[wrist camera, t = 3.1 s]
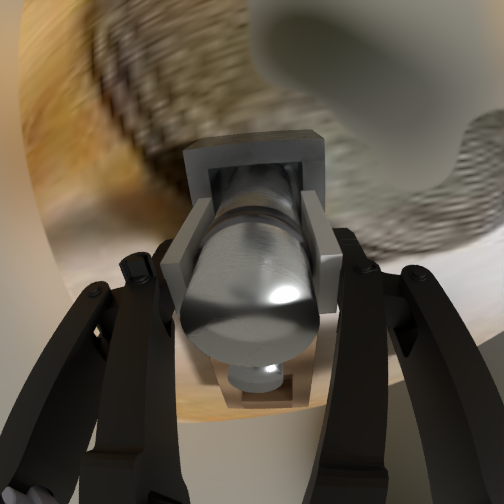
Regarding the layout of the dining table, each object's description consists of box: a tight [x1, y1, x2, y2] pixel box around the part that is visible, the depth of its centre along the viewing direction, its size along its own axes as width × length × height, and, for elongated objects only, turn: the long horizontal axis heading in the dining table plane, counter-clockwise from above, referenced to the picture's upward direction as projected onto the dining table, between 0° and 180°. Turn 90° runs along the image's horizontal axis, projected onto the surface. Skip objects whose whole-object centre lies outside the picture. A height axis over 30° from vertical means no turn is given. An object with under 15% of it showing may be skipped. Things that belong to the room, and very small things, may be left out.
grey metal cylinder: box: [180, 163, 320, 367], centre depth 14 cm, size 5×5×13 cm
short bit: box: [228, 363, 283, 393], centre depth 22 cm, size 4×4×8 cm
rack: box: [209, 335, 317, 409], centre depth 27 cm, size 20×10×4 cm, turn 6°
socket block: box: [183, 130, 325, 228], centre depth 19 cm, size 8×8×4 cm
